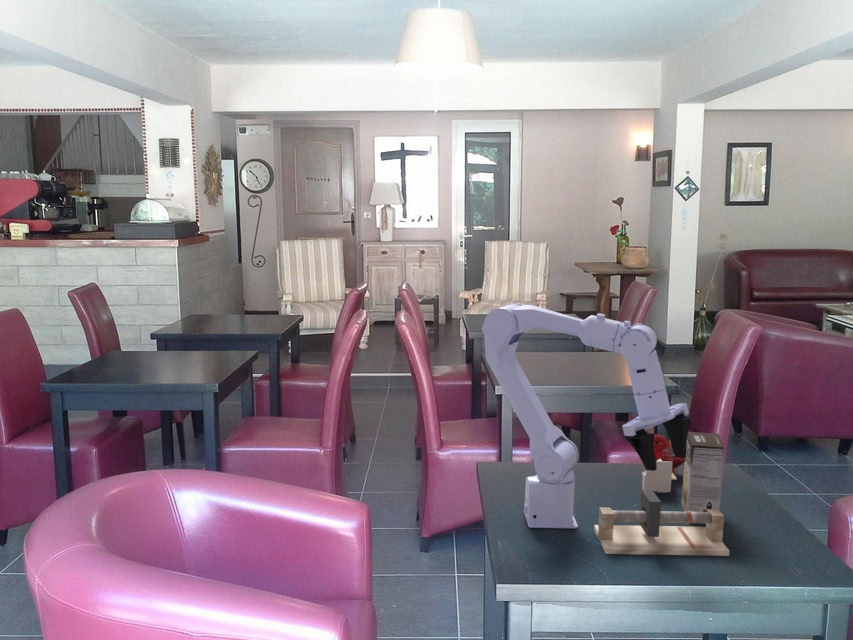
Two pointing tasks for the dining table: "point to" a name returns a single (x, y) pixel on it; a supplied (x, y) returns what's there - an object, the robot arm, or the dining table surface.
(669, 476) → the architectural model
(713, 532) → the pipe board
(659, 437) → the decorative bird figurine
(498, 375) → the robot arm
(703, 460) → the coffee box
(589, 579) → the dining table surface
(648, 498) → the upright gray tile
